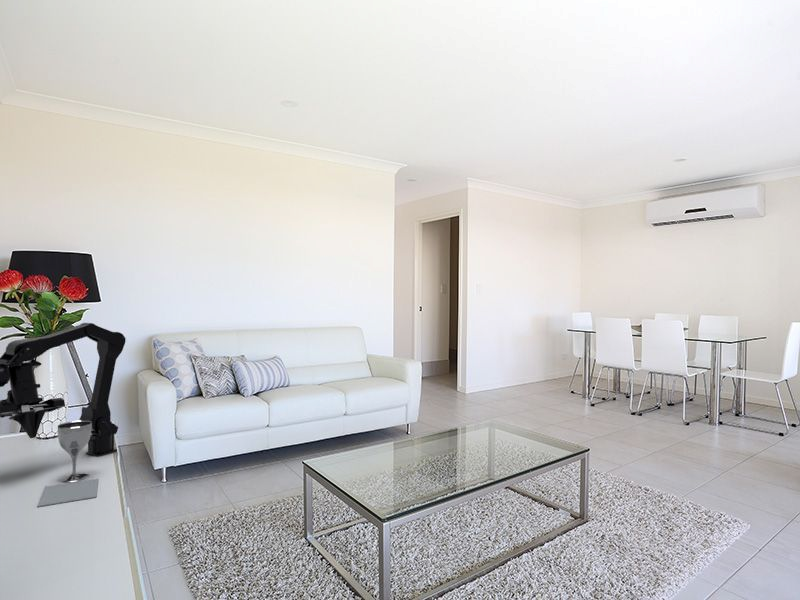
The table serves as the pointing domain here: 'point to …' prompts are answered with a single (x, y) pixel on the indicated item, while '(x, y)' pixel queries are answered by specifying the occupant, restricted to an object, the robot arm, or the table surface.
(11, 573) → the table surface
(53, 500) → the placemat
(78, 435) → the wine glass
